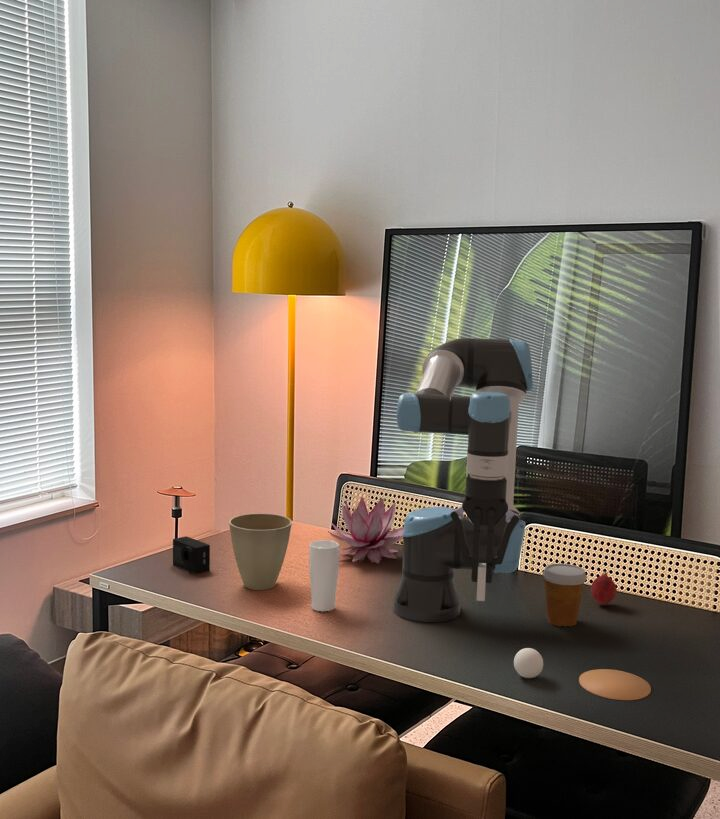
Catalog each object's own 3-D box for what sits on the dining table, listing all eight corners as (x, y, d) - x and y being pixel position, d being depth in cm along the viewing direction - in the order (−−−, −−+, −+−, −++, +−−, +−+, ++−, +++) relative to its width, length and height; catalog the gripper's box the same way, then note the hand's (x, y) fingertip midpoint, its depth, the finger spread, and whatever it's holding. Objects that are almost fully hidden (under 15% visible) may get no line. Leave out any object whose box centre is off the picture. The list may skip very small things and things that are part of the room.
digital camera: (168, 565, 237) (168, 539, 236) (186, 561, 241) (186, 535, 240) (191, 575, 230) (191, 548, 229) (209, 571, 233) (209, 544, 233)
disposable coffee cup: (534, 614, 209) (537, 562, 208) (576, 614, 210) (579, 562, 208) (546, 630, 200) (549, 576, 198) (589, 629, 201) (593, 576, 199)
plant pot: (216, 590, 220) (217, 524, 217) (247, 572, 233) (248, 510, 231) (273, 599, 214) (274, 532, 212) (301, 580, 228) (302, 517, 226)
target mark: (581, 696, 168) (581, 695, 168) (576, 667, 181) (576, 666, 181) (655, 703, 166) (656, 702, 166) (645, 673, 179) (645, 672, 179)
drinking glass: (343, 606, 211) (344, 542, 209) (329, 615, 205) (331, 550, 203) (316, 601, 214) (318, 538, 212) (302, 610, 208) (304, 545, 205)
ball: (513, 681, 174) (514, 653, 173) (513, 669, 179) (514, 642, 178) (543, 684, 173) (544, 656, 172) (542, 672, 178) (543, 644, 177)
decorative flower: (408, 572, 237) (410, 514, 235) (325, 569, 237) (326, 512, 235) (406, 547, 258) (407, 495, 256) (329, 545, 258) (330, 492, 256)
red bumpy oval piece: (616, 610, 213) (618, 577, 212) (590, 608, 214) (592, 575, 213) (614, 602, 218) (616, 569, 217) (589, 600, 220) (591, 567, 218)
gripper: (450, 477, 169) (444, 602, 172) (522, 482, 167) (515, 608, 170) (452, 470, 177) (447, 589, 180) (521, 474, 175) (515, 594, 178)
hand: (480, 598), depth 175 cm, fingers closed
